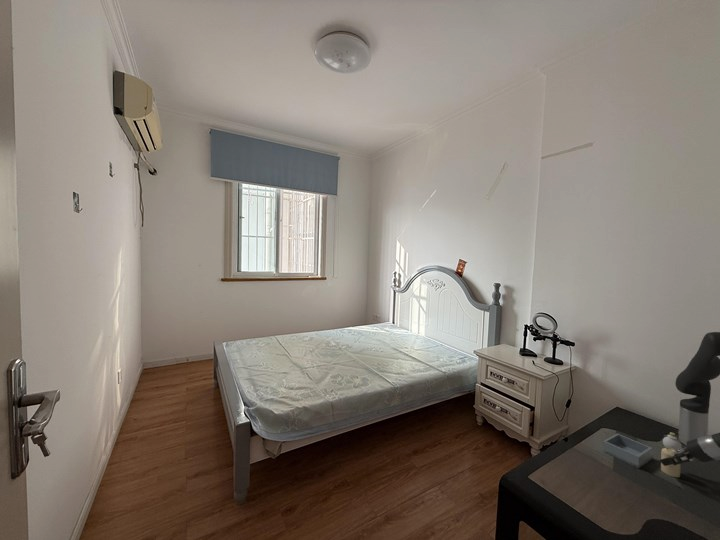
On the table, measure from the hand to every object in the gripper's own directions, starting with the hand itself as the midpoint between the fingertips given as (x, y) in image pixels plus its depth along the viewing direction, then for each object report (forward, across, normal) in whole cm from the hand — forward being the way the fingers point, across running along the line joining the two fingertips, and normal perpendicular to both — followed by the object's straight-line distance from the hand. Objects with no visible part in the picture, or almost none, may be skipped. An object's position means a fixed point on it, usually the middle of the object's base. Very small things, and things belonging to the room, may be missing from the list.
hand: (666, 459), depth 123 cm
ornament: (+6, -22, +1) cm, 23 cm away
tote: (+12, +2, -5) cm, 13 cm away
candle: (+3, 0, +4) cm, 5 cm away
